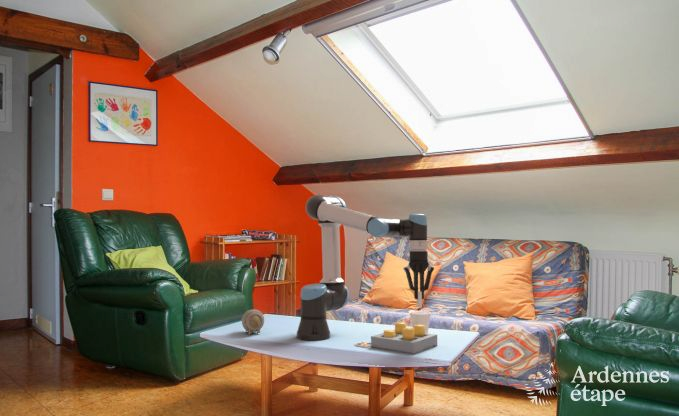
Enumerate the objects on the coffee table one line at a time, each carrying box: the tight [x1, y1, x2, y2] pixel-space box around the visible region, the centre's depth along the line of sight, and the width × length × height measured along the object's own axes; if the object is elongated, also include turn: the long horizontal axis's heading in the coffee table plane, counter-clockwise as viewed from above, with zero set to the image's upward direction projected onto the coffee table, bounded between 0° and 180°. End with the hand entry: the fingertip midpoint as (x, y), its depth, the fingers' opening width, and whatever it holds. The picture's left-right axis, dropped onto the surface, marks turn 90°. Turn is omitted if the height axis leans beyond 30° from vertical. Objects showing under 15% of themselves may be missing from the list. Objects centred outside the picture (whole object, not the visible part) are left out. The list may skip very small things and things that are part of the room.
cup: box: [408, 310, 432, 334], centre depth 236 cm, size 10×10×11 cm
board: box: [370, 329, 438, 355], centre depth 217 cm, size 20×20×4 cm
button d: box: [413, 325, 425, 337], centre depth 218 cm, size 5×5×5 cm
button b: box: [402, 327, 414, 341], centre depth 211 cm, size 5×5×5 cm
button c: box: [394, 321, 407, 334], centre depth 223 cm, size 5×5×5 cm
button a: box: [383, 329, 395, 338], centre depth 216 cm, size 5×5×5 cm
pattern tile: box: [354, 341, 371, 349], centre depth 218 cm, size 6×6×1 cm
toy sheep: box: [241, 308, 265, 335], centre depth 245 cm, size 11×17×11 cm, turn 24°
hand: (419, 307), depth 218 cm, fingers closed
